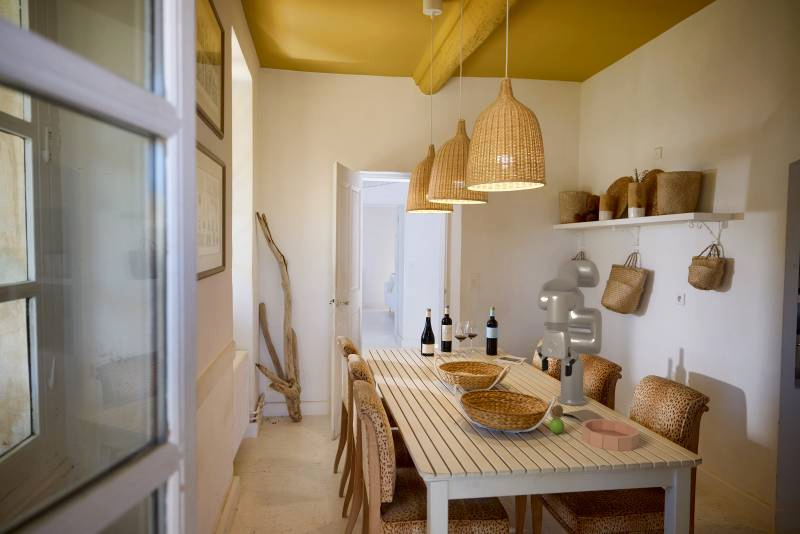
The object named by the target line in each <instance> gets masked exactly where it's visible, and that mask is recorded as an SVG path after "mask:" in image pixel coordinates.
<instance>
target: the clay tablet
mask: <svg viewBox="0 0 800 534" xmlns="http://www.w3.org/2000/svg"><path fill="white" fill-rule="evenodd" d="M562 415H570V416H573V417H575V418H577V419H578V420H579V421H581V423H582V422H585V421H587V420H592V419H605V418H604V417H603V416H602V415H601V414H599V413H597V412H594V411H593V410H590V409H586V408H585V409H580V410H575V411H569V412H563V414H562Z"/></svg>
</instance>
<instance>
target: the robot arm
mask: <svg viewBox="0 0 800 534" xmlns="http://www.w3.org/2000/svg"><path fill="white" fill-rule="evenodd" d="M600 277H601V276H600V272H599V270H598V266H597V264H596V263H594V261H591V260H587V259H585V260H580V259H578V260H575V259H573V260H572V259H570V260H565V261H563V262H562V263H561V265H560V267H559V269H558V270H557V276H555V277H553V278H551V279H550V280H548V281H546V282H544V284H542V286H541V288H540V290H539V292H538V296H537V304H538V307H539V309H541V310H543V311H546V322H544V326H545V327H546V329H544V331H543V335H542V341H541V345H539V346H537V347H535V349H536V353H537V355H538V357H539V359H540V361H541V372H543V373H544V372H548V371H549V358H550V359H555V360H560V361H561V362H560V364H561V367H560V395H558V396H557V397H556V401H557V402H558V403H560V404H563V405H565V406H574V407H575V406H579V407H581V406H585V405H587V402H588V401H587V399H586V398H585V397H584V396H586V395H588V391H587V390H585V389H584V371H585V370H584V368H585V367H584V366H585V365H584V364H585V363H584V361H583V359H582V358H581V356H580V354H583V355H599V354H600V353H601V351H602V345H603V343H602V340H603V339H602V337H603V317H602V313H601V311H600V309H598V308H596V307H585V294H584V292H583V291H582V289H580V288H590V289H591V288H593V289H594V288H596V287H598V285H599V283H600ZM569 328H570V329H580V330H589V331H590V332H587V331H576V330H569Z"/></svg>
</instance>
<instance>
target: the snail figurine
mask: <svg viewBox="0 0 800 534" xmlns="http://www.w3.org/2000/svg"><path fill="white" fill-rule="evenodd" d="M547 403H548V408H549V407H550V405H551V403H552V402H551V401H548V402H547ZM548 412H549V415H550V417H551V420H549V423H548V426H549V430H550V432H552V433H554V434H556V435H557V434H562V433H563V431H564V430H565V423H564V421H563V420H562V417H563V415H564V414H563V413H564V409H563V406H562V405H559V404H556V405H554V406H552V407H551V409H550V411H548Z"/></svg>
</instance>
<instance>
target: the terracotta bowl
mask: <svg viewBox="0 0 800 534" xmlns="http://www.w3.org/2000/svg"><path fill="white" fill-rule="evenodd" d="M581 440H582V441H584V442H585V443H587V444H588V445H590V446H593V447H595V448H599V449H603V450H607V449H608V451H615V452H621V451H622V452H624V451H625V452H626V451H633V450H635V449H637V448H639V445H640V432H639V429H638V428H636V427H635V426H633V425H631V424H629V423H625V422H622V421H618V420H613V419H605V418H604V419H592V420H587V421H585V422H582V421H581Z"/></svg>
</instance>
